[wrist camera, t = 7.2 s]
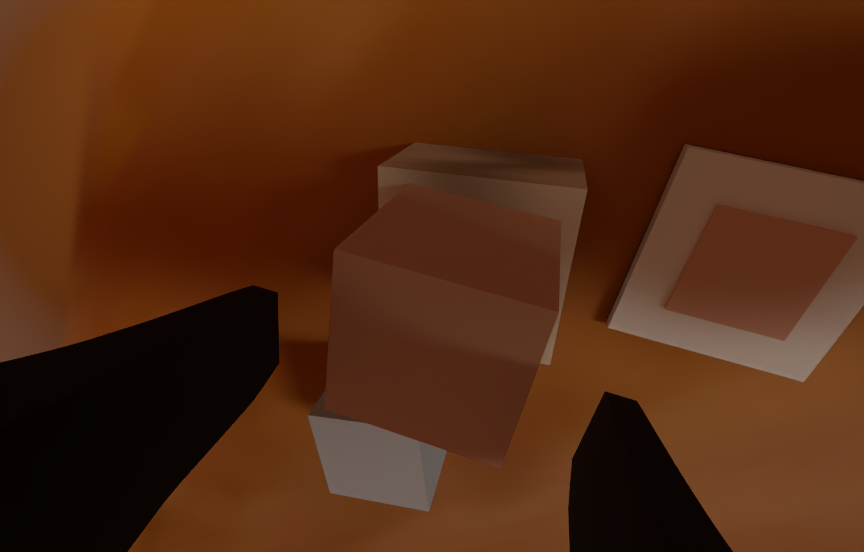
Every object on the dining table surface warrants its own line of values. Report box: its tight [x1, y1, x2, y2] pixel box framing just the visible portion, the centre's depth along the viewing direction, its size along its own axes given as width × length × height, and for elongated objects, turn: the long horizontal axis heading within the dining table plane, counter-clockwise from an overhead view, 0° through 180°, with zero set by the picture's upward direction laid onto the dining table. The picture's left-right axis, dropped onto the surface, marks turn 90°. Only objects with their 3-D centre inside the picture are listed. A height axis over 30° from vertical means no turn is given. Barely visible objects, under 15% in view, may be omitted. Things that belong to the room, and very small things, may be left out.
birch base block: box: [378, 143, 588, 365], centre depth 16 cm, size 6×6×4 cm
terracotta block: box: [324, 183, 561, 469], centre depth 12 cm, size 4×4×5 cm
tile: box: [607, 144, 864, 382], centre depth 15 cm, size 7×7×1 cm
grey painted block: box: [308, 391, 447, 512], centre depth 20 cm, size 4×4×5 cm
